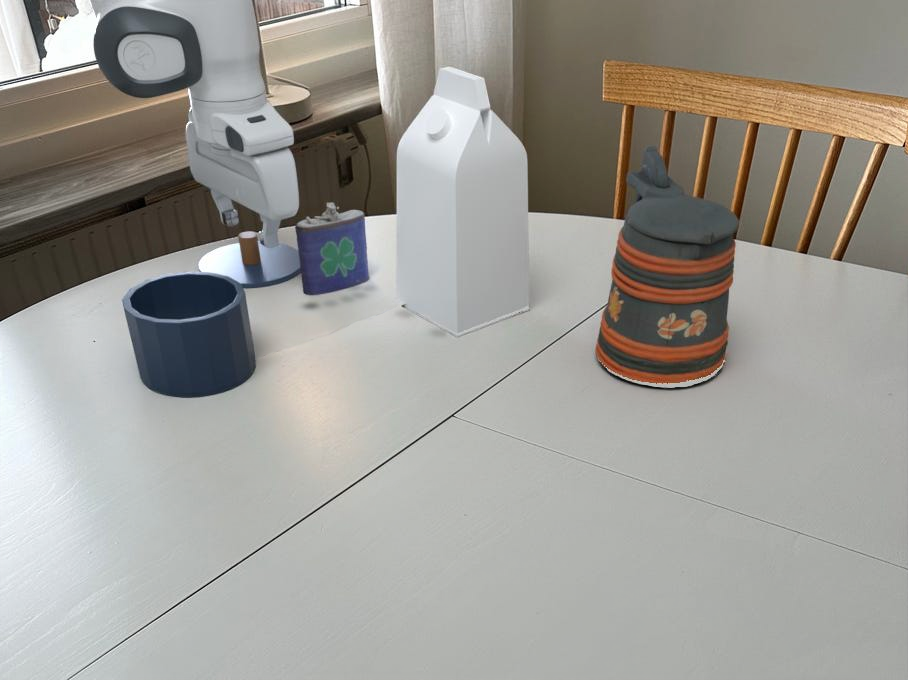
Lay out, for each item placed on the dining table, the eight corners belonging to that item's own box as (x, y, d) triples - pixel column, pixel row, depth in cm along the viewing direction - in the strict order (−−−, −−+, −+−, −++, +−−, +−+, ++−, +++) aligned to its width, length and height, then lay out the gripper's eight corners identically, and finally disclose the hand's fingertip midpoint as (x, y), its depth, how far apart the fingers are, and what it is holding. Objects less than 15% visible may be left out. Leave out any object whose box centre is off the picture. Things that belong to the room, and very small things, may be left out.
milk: (529, 309, 125) (539, 76, 107) (457, 337, 119) (455, 95, 102) (467, 278, 132) (467, 53, 114) (396, 302, 126) (384, 70, 108)
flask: (363, 277, 132) (357, 192, 124) (374, 285, 130) (369, 199, 122) (299, 294, 128) (289, 207, 120) (310, 302, 126) (300, 215, 119)
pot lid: (180, 268, 133) (173, 232, 130) (268, 242, 140) (263, 207, 137) (235, 302, 126) (229, 265, 123) (325, 273, 132) (321, 237, 129)
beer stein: (561, 323, 122) (573, 147, 109) (670, 307, 126) (695, 135, 112) (627, 399, 109) (650, 209, 95) (747, 379, 113) (786, 193, 99)
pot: (120, 366, 114) (101, 293, 108) (218, 332, 120) (205, 262, 114) (176, 409, 107) (159, 334, 101) (277, 372, 113) (267, 298, 107)
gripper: (165, 104, 124) (187, 218, 134) (254, 144, 113) (271, 265, 123) (210, 94, 128) (228, 206, 137) (301, 132, 116) (315, 252, 126)
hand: (249, 235), depth 130 cm, fingers open, 8 cm apart
